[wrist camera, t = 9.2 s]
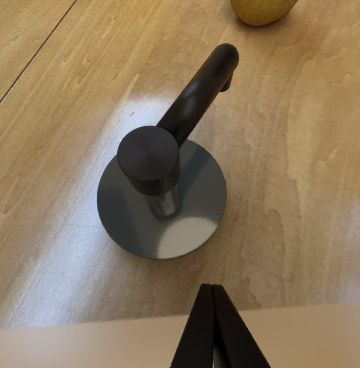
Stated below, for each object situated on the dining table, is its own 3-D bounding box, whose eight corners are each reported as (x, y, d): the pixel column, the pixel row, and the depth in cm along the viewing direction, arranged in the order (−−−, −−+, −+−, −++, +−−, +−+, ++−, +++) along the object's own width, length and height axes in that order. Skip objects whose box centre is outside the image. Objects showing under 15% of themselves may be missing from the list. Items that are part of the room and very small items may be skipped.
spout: (163, 208, 16) (156, 193, 12) (121, 183, 17) (103, 161, 13) (244, 84, 19) (257, 45, 16) (207, 68, 20) (211, 27, 17)
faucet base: (236, 249, 20) (255, 243, 14) (104, 269, 20) (72, 271, 14) (211, 135, 24) (218, 98, 19) (101, 150, 24) (76, 117, 18)
